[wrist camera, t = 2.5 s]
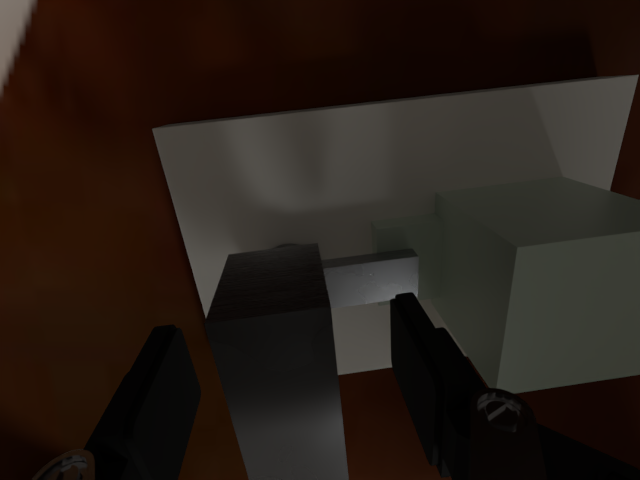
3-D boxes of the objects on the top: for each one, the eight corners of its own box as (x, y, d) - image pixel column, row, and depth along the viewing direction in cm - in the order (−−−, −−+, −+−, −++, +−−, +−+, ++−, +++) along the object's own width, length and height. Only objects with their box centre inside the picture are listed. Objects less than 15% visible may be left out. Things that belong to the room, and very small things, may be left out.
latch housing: (598, 76, 16) (638, 74, 14) (548, 320, 22) (572, 340, 20) (167, 124, 15) (151, 128, 13) (231, 365, 21) (226, 391, 19)
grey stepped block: (562, 176, 16) (710, 221, 10) (541, 287, 18) (652, 372, 13) (370, 200, 15) (417, 260, 10) (374, 310, 18) (414, 408, 12)
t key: (404, 175, 15) (548, 276, 7) (404, 324, 18) (500, 515, 10) (242, 194, 15) (188, 325, 6) (271, 343, 18) (260, 555, 10)
